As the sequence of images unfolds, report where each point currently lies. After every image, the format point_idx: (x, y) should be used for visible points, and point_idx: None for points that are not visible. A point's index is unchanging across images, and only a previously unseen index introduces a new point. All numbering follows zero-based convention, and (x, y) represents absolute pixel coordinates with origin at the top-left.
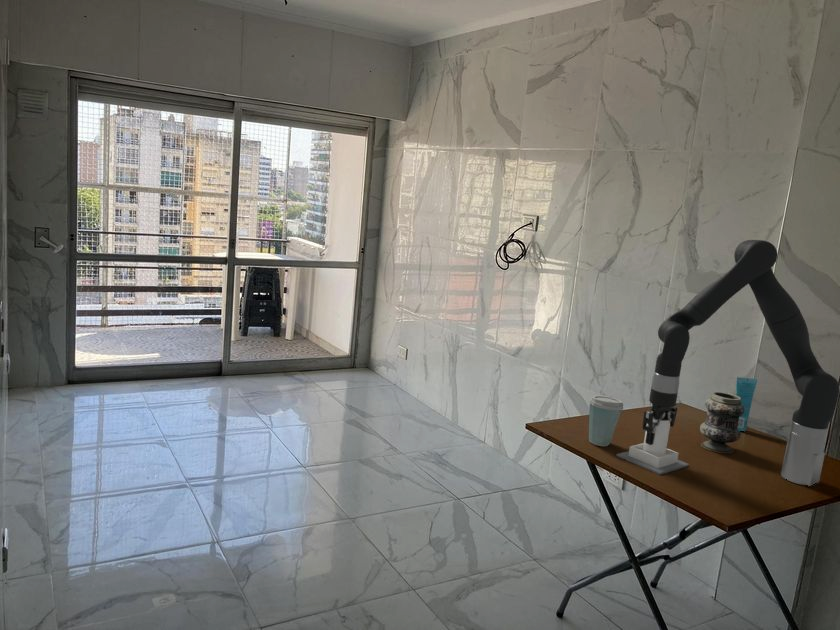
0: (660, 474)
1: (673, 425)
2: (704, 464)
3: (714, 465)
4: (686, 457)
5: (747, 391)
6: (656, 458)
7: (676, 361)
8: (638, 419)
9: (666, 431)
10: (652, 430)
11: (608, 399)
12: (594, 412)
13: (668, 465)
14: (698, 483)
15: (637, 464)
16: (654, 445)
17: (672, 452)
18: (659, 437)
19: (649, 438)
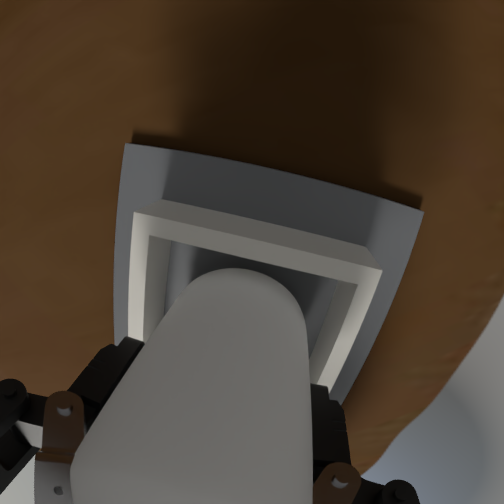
0: (415, 208)
1: (7, 384)
2: (51, 109)
3: (33, 81)
4: (44, 204)
5: None
6: (373, 286)
7: None
8: None
9: (231, 425)
10: (356, 490)
11: None
12: None
13: (262, 215)
14: (352, 16)
15: (372, 338)
16: (307, 369)
17: (150, 249)
18: (301, 404)
19: (344, 434)
